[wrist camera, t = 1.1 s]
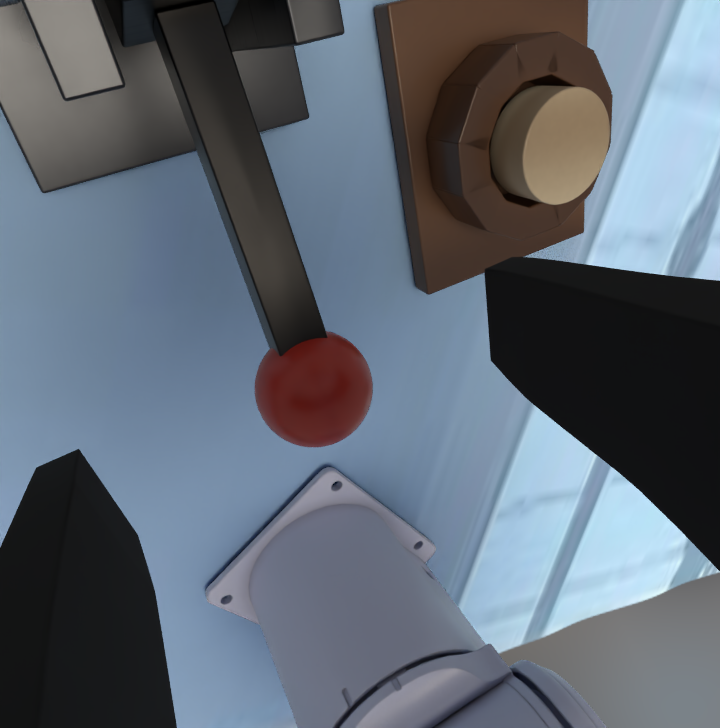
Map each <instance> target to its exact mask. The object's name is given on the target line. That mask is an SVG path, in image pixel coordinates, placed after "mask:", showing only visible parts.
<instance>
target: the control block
mask: <svg viewBox="0 0 720 728" xmlns="http://www.w3.org/2000/svg"><path fill="white" fill-rule="evenodd" d="M374 12H375V18H376V25H377V32H378V38H379V45H380V51H381V58H382V65H383V71H384V78H385V84H386V91H387V98H388V104H389V111H390V117H391V124H392V131H393V137H394V144H395V150H396V157H397V164H398V170H399V177H400V183H401V190H402V197H403V203H404V210H405V216H406V223H407V230H408V236H409V243H410V249H411V256H412V263H413V269H414V276H415V282H416V287H417V288H418V289H419V290H421V291H423V292H424V293H426V294H432V293H434V292H437V291H439V290H442V289H444V288H447V287H449V286H452V285H454V284H457V283H459V282H462V281H464V280H467V279H469V278H472V277H474V276H477V275H479V274H482V273H484V272H485V270H484V269H486V268H488V267H490V266H493V265H495V264H497V263H499V262H502V261H504V260H506V259H508V258H511V257H524V256H526V255H529V254H531V253H534V252H536V251H539V250H541V249H544V248H546V247H549V246H551V245H554V244H556V243H559V242H561V241H564V240H566V239H569V238H571V237H574V236H576V235H579V234H581V233H583V232H584V202H585V199H586V197H587V196H588V195H589V194H590V193H591V191H592V189H593V187H594V184H595V182H596V179H597V177H598V175H599V173H598V175H597V176H596V178H595V179H594V181H593V182H592V183H591V185H590V186H589V187H588V188H587V189H586V190H585V191H584V192H583V193H582V194H581V195H579V196H578V197H576V198H575V199H573V200H571V201H569V202H566V203H563V204H558V205H550V204H546V203H542V202H538V201H535V200H531V199H528V198H524V197H520V196H517V195H513V194H511V193H509V192H508V191H506V190H505V189H504V188H503V187H502V186H501V185H500V184H499V182H498V181H497V179H496V177H495V175H494V173H493V170H492V166H491V159H490V146H491V139H492V134H493V131H494V127H495V125H496V122H497V120H498V118H499V116H500V114H501V112H502V111H503V109H504V108H505V107H506V105H507V104H508V103H509V102H510V101H511V100H512V99H513V98H514V97H515V96H516V95H517V94H519V93H520V92H522V91H523V90H525V89H527V88H530V87H533V86H542V85H544V86H572V87H583V88H586V89H589V90H591V91H592V92H594V93H595V94H596V95H597V96H598V97H599V98H600V99H601V101H602V102H603V104H604V106H605V108H606V111H607V114H608V118H609V125H610V136H609V144H608V150H609V147H610V143H611V121H612V94H611V93H612V92H611V89H610V87H609V85H608V82H607V80H606V78H605V75H604V73H603V71H602V68H601V66H600V63H599V61H598V59H597V56H596V54H595V53H594V51H593V50H592V49H590V48H588V47H587V32H588V0H399V1H394V2H390V3H386V4H381V5H377V6H375V7H374ZM608 150H607V152H608ZM606 155H607V153H606ZM600 170H601V169H600ZM599 172H600V171H599Z"/></svg>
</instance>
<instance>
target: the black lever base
mask: <svg viewBox="0 0 720 728" xmlns="http://www.w3.org/2000/svg"><path fill="white" fill-rule="evenodd" d="M224 29H225V32H226V35H227V38H228V41H229V44H230V47H231V50H232V53H233V56H234V59H235V62H236V65H237V68H238V71H239V74H240V77H241V80H242V83H243V85H244V88H245V91H246V94H247V97H248V100H249V103H250V106H251V109H252V112H253V115H254V118H255V121H256V124H257V127H258V130H259V133H260V132H263V131H267V130H270V129H274V128H277V127H281V126H284V125H288V124H291V123H295V122H299V121H302V120H306V119H308V118H309V113H308V109H307V104H306V100H305V95H304V90H303V86H302V81H301V77H300V72H299V68H298V63H297V59H296V54H295V50H294V46H298V45H302V44H306V43H311V42H315V41H319V40H323V39H327V38H331V37H335V36H339V35H342V34H344V26H343V20H342V15H341V9H340V3H339V0H239V1H238V3H237V6H236V8H235V10H234V12H233V15H232V17H231V19H230V21H229V24H227V25H224ZM0 108H1V110H2V112H3V114H4V116H5V118H6V120H7V122H8V124H9V126H10V128H11V130H12V132H13V134H14V136H15V139H16V141H17V143H18V145H19V147H20V149H21V151H22V153H23V155H24V157H25V159H26V161H27V163H28V165H29V167H30V169H31V172H32V174H33V176H34V178H35V180H36V182H37V184H38V186H39V188H40V190H41V192H42V193H48V192H51V191H55V190H58V189H62V188H66V187H69V186H73V185H76V184H80V183H83V182H87V181H90V180H94V179H97V178H101V177H104V176H108V175H111V174H115V173H118V172H122V171H126V170H129V169H133V168H136V167H140V166H143V165H147V164H150V163H154V162H157V161H161V160H164V159H168V158H171V157H175V156H179V155H182V154H186V153H189V152H193V151H196V147H195V145H194V142H193V139H192V137H191V134H190V131H189V128H188V126H187V123H186V120H185V118H184V115H183V112H182V110H181V107H180V104H179V101H178V99H177V96H176V93H175V91H174V88H173V85H172V82H171V80H170V77H169V74H168V72H167V69H166V66H165V64H164V61H163V58H162V55H161V53H160V50H159V47H158V45H157V42H156V41H153V42H148V43H144V44H139V45H135V46H130V47H123V46H122V44H121V42H120V39H119V36H118V34H117V31H116V29H115V26H114V23H113V21H112V18H111V16H110V13H109V11H108V8H107V5H106V3H105V0H0Z"/></svg>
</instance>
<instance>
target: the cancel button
mask: <svg viewBox="0 0 720 728" xmlns="http://www.w3.org/2000/svg"><path fill="white" fill-rule="evenodd" d="M609 136H610V125H609V118H608V114H607V111H606V108H605V106H604V104H603V102H602V101H601V99H600V98H599V97H598V96H597V95H596V94H595V93H594V92H592V91H591V90H589V89H586V88H583V87H572V86H544V85H542V86H533V87H530V88H527V89H525V90H523V91H522V92H520V93H519V94H517V95H516V96H515V97H514V98H513V99H512V100H511V101H510V102H509V103H508V104H507V105H506V107H505V108H504V109H503V111H502V112H501V114H500V116H499V118H498V120H497V122H496V125H495V127H494V131H493V134H492V139H491V146H490V159H491V166H492V170H493V173H494V175H495V177H496V179H497V181H498V182H499V184H500V185H501V186H502V187H503V188H504V189H505V190H506V191H508V192H509V193H511V194H513V195H517V196H520V197H524V198H528V199H531V200H535V201H538V202H542V203H546V204H550V205H558V204H563V203H566V202H569V201H571V200H573V199H575V198H576V197H578V196H579V195H581V194H582V193H583V192H584V191H585V190H586V189H587V188H588V187H589V186H590V185H591V183H592V182H593V181H594V179H595V178H596V176H597V175H598V173H599V171H600V169H601V167H602V165H603V162H604V160H605V157H606V153H607V150H608V144H609Z"/></svg>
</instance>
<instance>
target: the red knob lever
mask: <svg viewBox="0 0 720 728" xmlns="http://www.w3.org/2000/svg"><path fill="white" fill-rule="evenodd" d="M238 1H239V0H105V3H106V5H107V8H108V11H109V13H110V16H111V18H112V21H113V23H114V26H115V29H116V31H117V34H118V36H119V39H120V42H121V44H122V46H123V47H130V46H135V45H139V44H144V43H148V42H153V41H156V42H157V45H158V47H159V50H160V53H161V55H162V58H163V61H164V64H165V66H166V69H167V72H168V74H169V77H170V80H171V82H172V85H173V88H174V91H175V93H176V96H177V99H178V101H179V104H180V107H181V110H182V112H183V115H184V118H185V120H186V123H187V126H188V128H189V131H190V134H191V137H192V139H193V142H194V145H195V147H196V150H197V153H198V156H199V158H200V161H201V164H202V166H203V169H204V172H205V174H206V177H207V180H208V183H209V185H210V188H211V191H212V193H213V196H214V199H215V202H216V204H217V207H218V210H219V212H220V215H221V218H222V220H223V223H224V226H225V229H226V231H227V234H228V237H229V239H230V242H231V245H232V247H233V250H234V253H235V256H236V258H237V261H238V264H239V266H240V269H241V272H242V275H243V277H244V280H245V283H246V285H247V288H248V291H249V293H250V296H251V299H252V302H253V304H254V307H255V310H256V312H257V315H258V318H259V321H260V323H261V326H262V329H263V331H264V334H265V337H266V339H267V342H268V345H269V348H270V350H269V351H268V352H267V353H266V355H265V356H264V357H263V359H262V361H261V363H260V365H259V368H258V370H257V374H256V379H255V398H256V403H257V406H258V410H259V412H260V414H261V416H262V418H263V420H264V421H265V423H266V424H267V425H268V426H269V428H270V429H271V430H272V431H273V432H275V433H276V434H277V435H278V436H279V437H281V438H283V439H284V440H286V441H288V442H290V443H293V444H296V445H299V446H304V447H323V446H328V445H332V444H334V443H337V442H339V441H341V440H343V439H344V438H346V437H347V436H349V435H350V434H351V433H352V432H354V431H355V430H356V429H357V428H358V426H359V425H360V424H361V423H362V421H363V420H364V418H365V416H366V414H367V412H368V410H369V407H370V404H371V400H372V393H373V384H372V377H371V373H370V369H369V367H368V364H367V362H366V360H365V358H364V357H363V355H362V354H361V353H360V351H359V350H358V349H357V348H356V347H355V346H354V345H353V344H352V343H351V342H349V341H348V340H347V339H345V338H343V337H341V336H340V335H337V334H335V333H332V332H328V331H325V328H324V325H323V322H322V319H321V316H320V313H319V310H318V307H317V304H316V301H315V298H314V295H313V292H312V289H311V286H310V283H309V280H308V277H307V274H306V271H305V268H304V265H303V262H302V259H301V256H300V253H299V250H298V247H297V244H296V241H295V238H294V235H293V232H292V229H291V226H290V223H289V220H288V217H287V214H286V211H285V208H284V205H283V202H282V199H281V196H280V193H279V190H278V187H277V184H276V181H275V178H274V175H273V172H272V169H271V166H270V163H269V160H268V157H267V154H266V151H265V148H264V145H263V142H262V139H261V136H260V133H259V130H258V127H257V124H256V121H255V118H254V115H253V112H252V109H251V106H250V103H249V100H248V97H247V94H246V91H245V88H244V85H243V83H242V80H241V77H240V74H239V71H238V68H237V65H236V62H235V59H234V56H233V53H232V50H231V47H230V44H229V41H228V38H227V35H226V32H225V29H224V25H227V24H229V21H230V19H231V17H232V15H233V12H234V10H235V8H236V6H237V3H238Z"/></svg>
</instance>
